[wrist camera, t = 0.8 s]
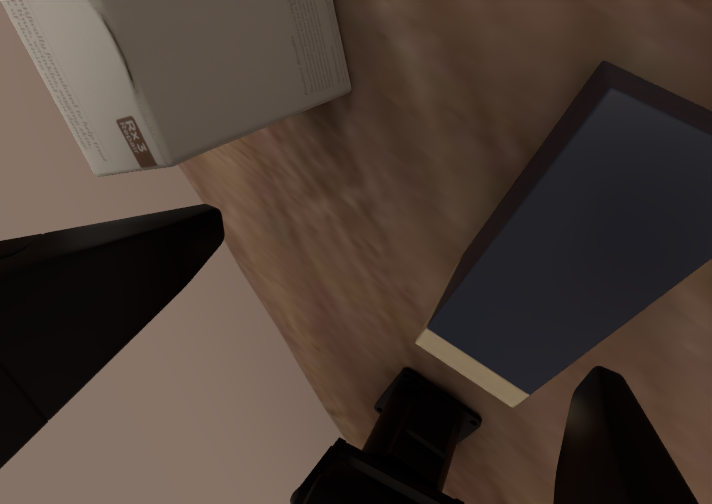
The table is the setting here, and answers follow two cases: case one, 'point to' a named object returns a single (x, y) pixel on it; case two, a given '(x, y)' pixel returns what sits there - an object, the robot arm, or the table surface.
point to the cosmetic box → (179, 71)
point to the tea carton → (580, 237)
